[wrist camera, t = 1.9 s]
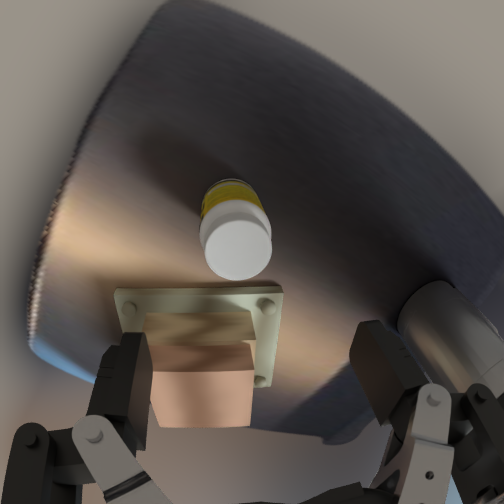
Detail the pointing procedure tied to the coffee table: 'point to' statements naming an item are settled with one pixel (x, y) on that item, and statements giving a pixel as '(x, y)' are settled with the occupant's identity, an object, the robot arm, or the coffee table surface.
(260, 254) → the supplement bottle
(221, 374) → the stepped pedestal block
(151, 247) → the coffee table surface
